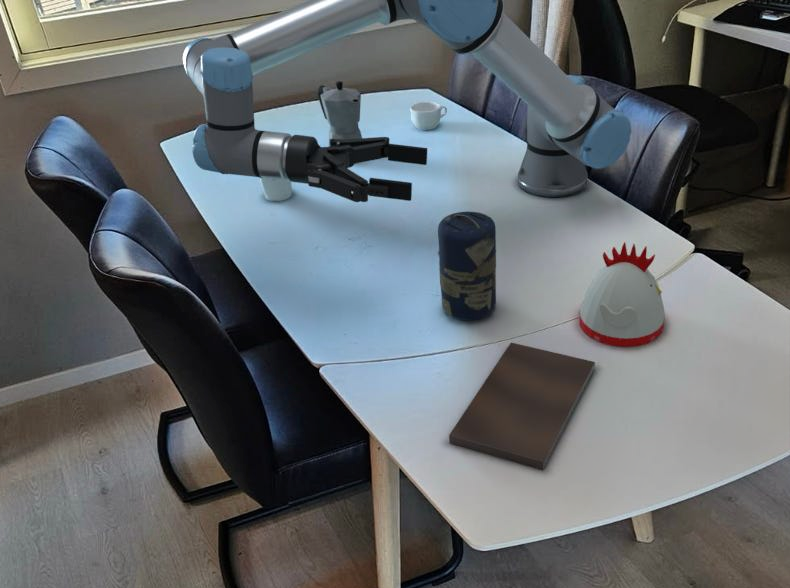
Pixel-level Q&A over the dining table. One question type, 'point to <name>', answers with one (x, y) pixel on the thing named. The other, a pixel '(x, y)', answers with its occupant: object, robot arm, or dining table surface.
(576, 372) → the serving board
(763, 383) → the dining table surface
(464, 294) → the canister
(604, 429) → the dining table surface
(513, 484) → the dining table surface
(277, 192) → the dixie cup
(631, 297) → the kitchen timer
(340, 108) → the coffeepot
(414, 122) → the teacup
